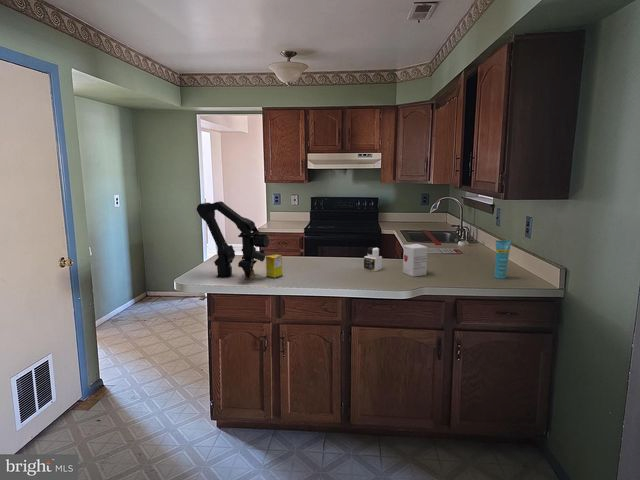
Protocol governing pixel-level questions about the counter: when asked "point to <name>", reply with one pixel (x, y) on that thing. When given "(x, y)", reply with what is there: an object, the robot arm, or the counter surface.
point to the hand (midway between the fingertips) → (249, 276)
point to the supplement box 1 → (274, 266)
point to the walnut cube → (250, 275)
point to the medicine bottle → (373, 260)
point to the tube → (502, 258)
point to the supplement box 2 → (415, 260)
